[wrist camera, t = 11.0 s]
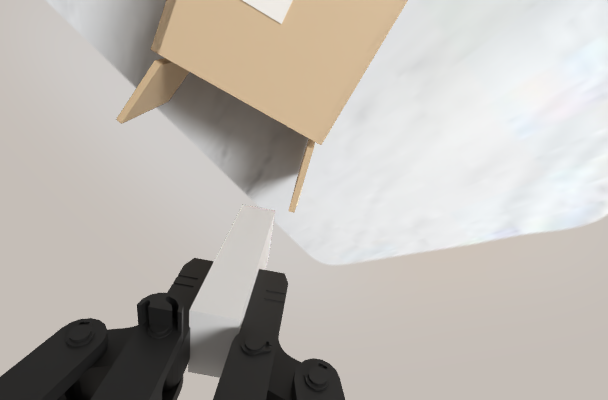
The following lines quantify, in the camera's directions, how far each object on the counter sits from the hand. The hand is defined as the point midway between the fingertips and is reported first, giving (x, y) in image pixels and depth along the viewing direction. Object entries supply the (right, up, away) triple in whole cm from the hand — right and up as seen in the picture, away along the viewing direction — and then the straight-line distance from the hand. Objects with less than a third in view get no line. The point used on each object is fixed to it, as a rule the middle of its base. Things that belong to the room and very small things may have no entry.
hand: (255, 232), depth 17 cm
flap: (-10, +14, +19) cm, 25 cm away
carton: (+2, +20, +16) cm, 25 cm away
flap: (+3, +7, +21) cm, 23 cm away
